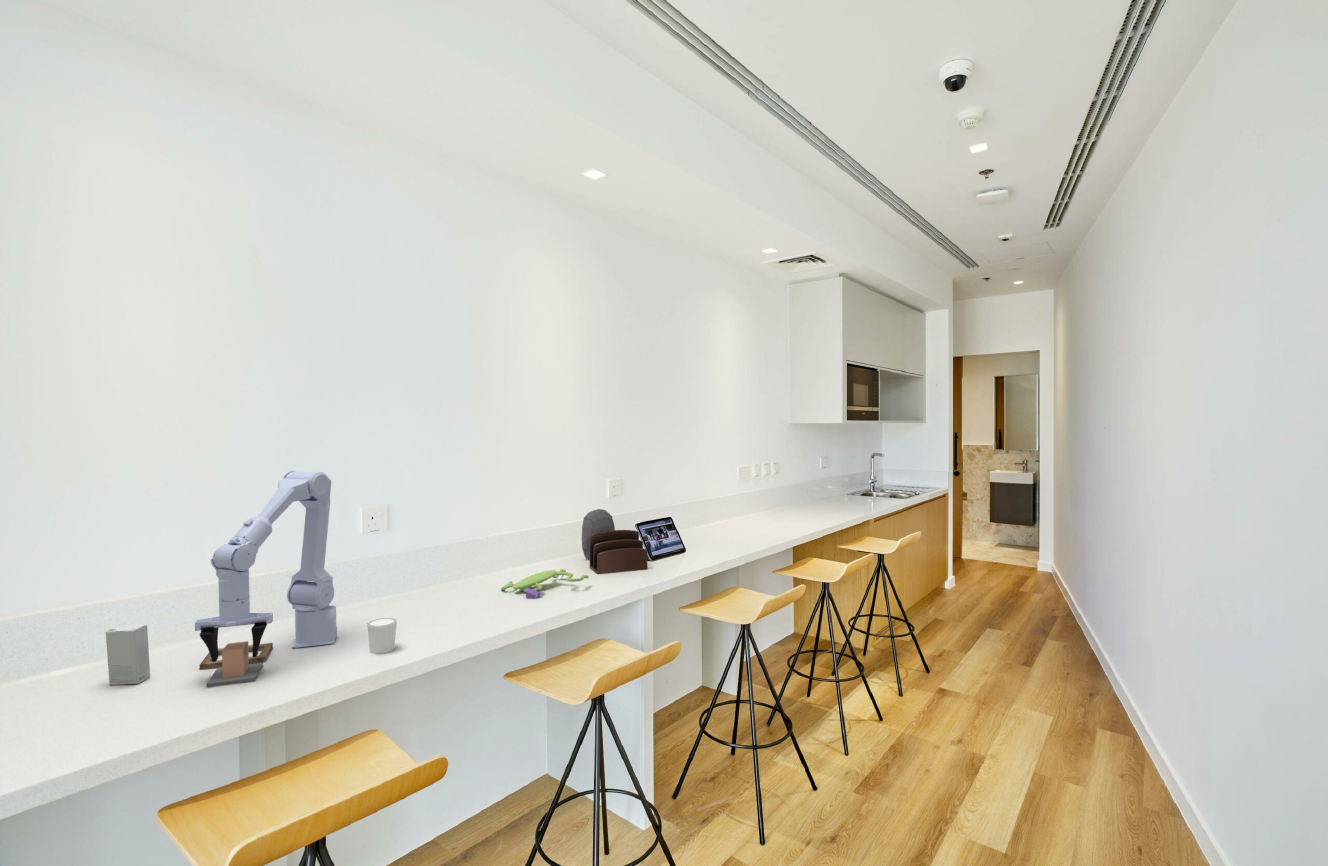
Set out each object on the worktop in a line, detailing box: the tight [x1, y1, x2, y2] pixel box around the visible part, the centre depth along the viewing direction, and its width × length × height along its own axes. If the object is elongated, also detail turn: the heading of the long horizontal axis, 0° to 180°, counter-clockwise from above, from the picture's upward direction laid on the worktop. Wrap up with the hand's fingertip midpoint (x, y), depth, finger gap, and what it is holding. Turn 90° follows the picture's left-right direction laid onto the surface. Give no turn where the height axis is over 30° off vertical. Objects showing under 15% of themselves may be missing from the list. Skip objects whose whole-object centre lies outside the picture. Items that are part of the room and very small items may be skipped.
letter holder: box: [589, 529, 648, 575], centre depth 245 cm, size 10×20×14 cm, turn 114°
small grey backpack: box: [581, 508, 616, 560], centre depth 261 cm, size 15×8×20 cm, turn 130°
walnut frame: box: [199, 642, 274, 671], centre depth 157 cm, size 13×10×1 cm
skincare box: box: [105, 624, 151, 686], centre depth 143 cm, size 6×4×12 cm
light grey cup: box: [366, 617, 398, 655], centre depth 163 cm, size 7×7×7 cm
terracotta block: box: [221, 640, 250, 678], centre depth 146 cm, size 4×5×6 cm
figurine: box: [500, 568, 590, 600], centre depth 218 cm, size 18×27×6 cm
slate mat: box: [205, 662, 264, 688], centre depth 146 cm, size 9×9×1 cm
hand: (235, 657), depth 146 cm, fingers open, 7 cm apart
